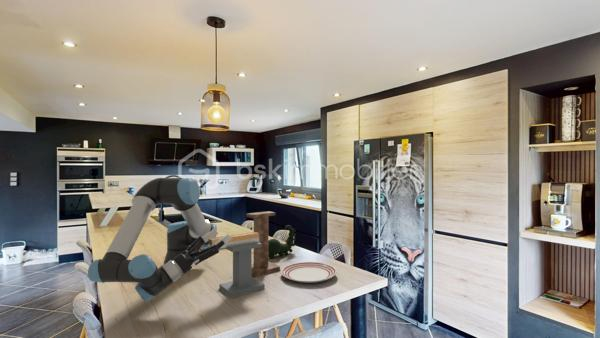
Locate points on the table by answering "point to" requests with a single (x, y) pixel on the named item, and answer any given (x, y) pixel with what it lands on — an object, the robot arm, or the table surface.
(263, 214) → the tall stand
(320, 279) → the dinner plate
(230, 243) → the brown and gray block
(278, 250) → the dark green knobbed ball
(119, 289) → the table surface
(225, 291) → the low stand
